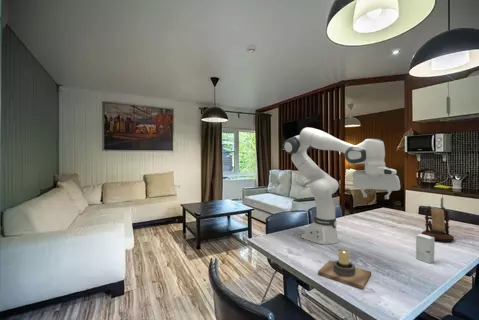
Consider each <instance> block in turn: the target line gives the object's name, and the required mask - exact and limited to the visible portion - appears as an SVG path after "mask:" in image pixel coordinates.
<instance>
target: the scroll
mask: <svg viewBox="0 0 479 320" xmlns="http://www.w3.org/2000/svg"><path fill="white" fill-rule="evenodd" d="M424 212H425V216H424V219H425V224H424V225H425V230H423V231H422V232H421V234H424V235H428V236H431V237H434V238H435V240H437V241H443V242H444V241H445V242H449V243H452V241H454V239H455V238H454V235H451V233H450V229H449V228H450V225H449V224H450V223H449V222H450V218H449V213H450V211H449V210H447V209H446V208H445V207H444V206H442V207H441V209H440V208H431V205H428V206H427V208H425V209H424Z"/></svg>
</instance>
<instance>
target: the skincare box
mask: <svg viewBox="0 0 479 320" xmlns="http://www.w3.org/2000/svg"><path fill="white" fill-rule="evenodd" d="M415 239H416V240H415V241H416V242H415V259H416V260H419V261H422V262H425V263H427V264H432V263H434V262H435V240H436V239H435V238H434V237H431V236H428V235H424V234H422V233H419V234H416V235H415Z"/></svg>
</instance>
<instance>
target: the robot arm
mask: <svg viewBox="0 0 479 320" xmlns="http://www.w3.org/2000/svg"><path fill="white" fill-rule="evenodd" d="M311 148H314V149H317V150H322V151H337V152H340V153H342V154H344V158H345V161H346V162H347V163H349V164H352V165H364V169H363V170H357V169H356V170H355V171H352V186H353V188H354V189H360V192H361V194H362V197H363V198H368V193H366V191H365V190H366V189H367V190H368V189H369V190H380V191H381V190H382V191H384V190H385V191H387V194H385V195H384V200H389V199H390V195H391V193H392V191H399V190H401V182H400V178H399V176H398V175H397V170H396V169H394V168H390V167H387V166H386V162H385V158H386V150H385V149H386V148H385V144H384V141H383V140H382V139H379V138H366V139H364V140H363V141H362V142H360V143H358V144H356V145H355V144H353V143H352V144H351V143H350V142H347V141H344V140H341V139H339V138H337V137H335V136H333V135H331V134H329V133H328V132H325V131H324V130H321V129H317V128H314V127H304V128H302V130H301V131H300V133H299V134H298V135H295V136H293V137H290V138H288V139H286V140H285V141H284V143H283V149H284V151H285V152H286V153H287V154H288V155H291V158H290V159H291V161H292V163H293V165H294V166H295V167H296V169H297V170H298V171H299V173H301V174H302V176H303V177H304V178H305V179H306V180H308V181H310V182H311V185H310V192H311V193H312V195H313V197H314V202H315V207H316V208H315V209H316V215H315V216H314V217H313V219H312V221H313V222H312V223H310V224H309V225H307V226H306V227H305V231H304V233H302V234H301V239H303V238H304V239H303V240H307V241H311V242H313V243H316V244H319V245H327V244H328V245H329V244H330V245H332V244H338V243H339V242H340V239H339V237H338V232H337V218H336V204H334V202H333V196H332V195H333V194H335V193H336V192H337V190H339V186H340V185H339V181H338V180H336V179H335V178H333V177H332V176H331V175H329V174H328V173H327V172H325V171H324V170H323V169H322V168H320V167H319V166H318V165H317V164H316V162H315V161H313V159H312V158H311V157H310V156H309V155H308V154H307V153H308V152H310V150H311Z"/></svg>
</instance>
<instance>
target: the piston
mask: <svg viewBox="0 0 479 320" xmlns="http://www.w3.org/2000/svg"><path fill="white" fill-rule="evenodd" d="M337 258H338V260H339V267H342V268H350V262H351V260H350V250H347V249H344V248H340V249H338V256H337Z"/></svg>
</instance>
